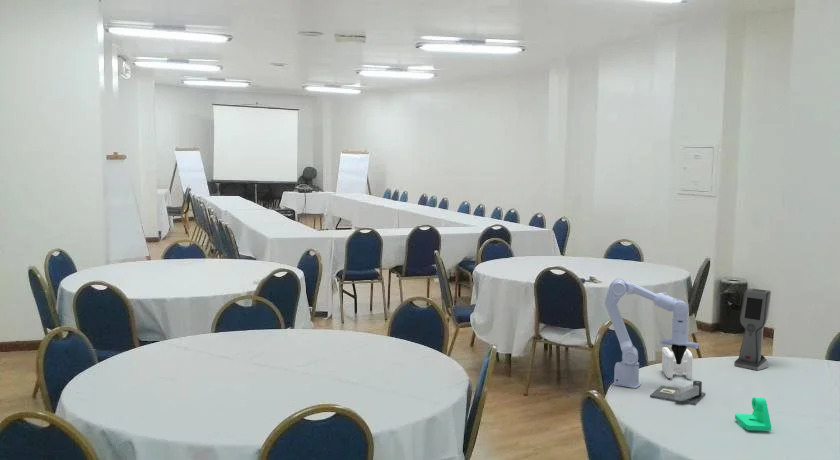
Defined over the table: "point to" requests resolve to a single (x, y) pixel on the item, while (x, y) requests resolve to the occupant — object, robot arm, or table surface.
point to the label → (667, 391)
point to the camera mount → (756, 416)
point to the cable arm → (689, 391)
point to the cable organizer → (673, 368)
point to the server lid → (671, 397)
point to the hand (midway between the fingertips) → (678, 363)
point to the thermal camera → (753, 328)
